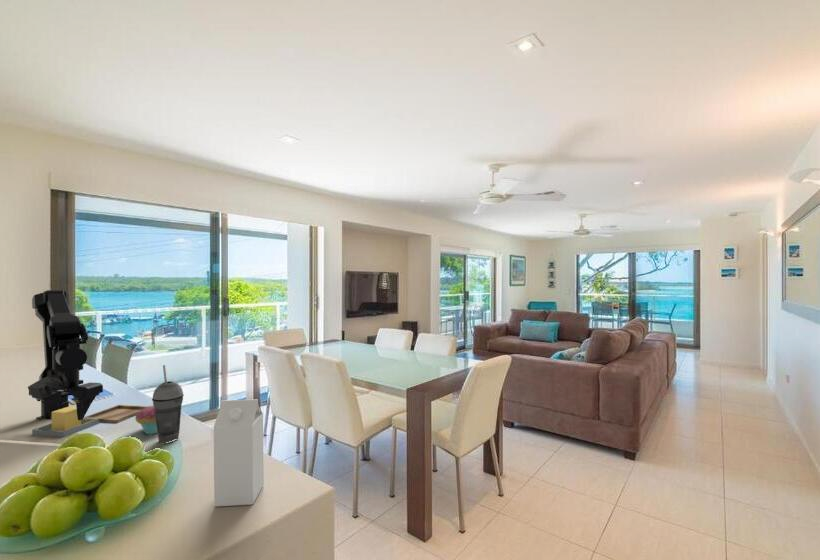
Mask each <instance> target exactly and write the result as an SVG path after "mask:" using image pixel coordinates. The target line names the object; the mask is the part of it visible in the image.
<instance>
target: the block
mask: <svg viewBox="0 0 820 560" xmlns="http://www.w3.org/2000/svg"><path fill="white" fill-rule="evenodd" d="M51 423H52V430H57V431H65V430H68V429H71V428H73V427H76V426H79V425H81V420H78V417H77V408H76V406H69V407H66V408H62V409H59V410H56V411H53V412H52V419H51Z"/></svg>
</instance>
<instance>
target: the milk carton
mask: <svg viewBox="0 0 820 560" xmlns="http://www.w3.org/2000/svg"><path fill="white" fill-rule="evenodd" d="M219 403H220V405H219V409H218V412H217V413H218V414H217V416H216V419H215V422H214V424H213V490H214V491H213V492H214V494H213V495H214V497H213V498H214V501H213V502H214V504H213V505H214V507H229V506H233V507H234V506H248V505H249V506H250V505H254V503H255V501H256V499H257V497H258V496H259V494H260V492H261V490H262V489H263V487H264V483H265V482H264V481H265V480H264V479H265V477H264V473H265V472H264V413H263V411H262V410H261V408H260V405H259V399H257V398H255V399H229V400H227V399H226V400H225V399H224V400H220V402H219Z"/></svg>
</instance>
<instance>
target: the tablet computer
mask: <svg viewBox="0 0 820 560" xmlns="http://www.w3.org/2000/svg"><path fill="white" fill-rule="evenodd" d="M115 394H116V393H114V392H111V391H110V390H108V389H105V388H104V389H103V392H102V393H99V395H97V396H96V397H95V399H94V400H95V401H97V400H96V399H99V400H101V399H100V398H104V399H106V398H105V397H108V398H110V397H109V396H111V397H114V396H116V395H115ZM72 398H74V397H73V396H72V395H70V396H68V401H69V403H70V404H72V405H76V403H75V402H74V401H73V400H72Z"/></svg>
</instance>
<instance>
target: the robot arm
mask: <svg viewBox="0 0 820 560" xmlns="http://www.w3.org/2000/svg"><path fill="white" fill-rule="evenodd" d="M31 306H32V307H31V308H32V309H34V312H35V313H34V314H35V316H36V317H37V319H39V320H40V321H41V322H42V332H43V334H42V335H43V348H44V351H43V352H44V364H45V365H44V369H43V370H42V371H41V373H40V374H39V376H38V380H37V381H36V382H33V383H32V384H29V386H27V390H28V396H31V398H32V399H35V400H36V401H37V402H40V403H41V404H40V406H41V407H40V408H41V409H40V411H41V413H40V414H41V415H40V416H37V417H35V420H43V419H45V420H52V412H53V411H56V410H59V409H62V408H66V407H70V405H69V403H70V402H69V401H68V396H70V395H72V396H73V397H74V398H72V400H73V401H74V402H75V403H76V404H75V407H76V408H77V417H78V420H82V419H83V418H84V417H86V414H87V412H88V410H89V408H90V406H91V405H92V403H93V402H94V401H93V400H94V399H95V397H96V396H97V395H99V393H102V392H103V388H104V385H103V384H102V383H101V382H87V383H84V380H83V379H80V371H83V370H84V365H85V364H86V363H87V360H88V355H87V353H86V351H85V350H84V349H82V348H81V345H85V344H87V341H88V340H89V337H88V336H89V335H88V331H87V328H86V326H85V325H84V323H83V322H81V320H80V318H79V316H78V315H74V314H72V312H71V310H70V294H69V293H67V292H66V290H63V289H50V290H49V289H47V290H44V291H43V292H40V293H37V294H34V295H33V296H32V299H31Z"/></svg>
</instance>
